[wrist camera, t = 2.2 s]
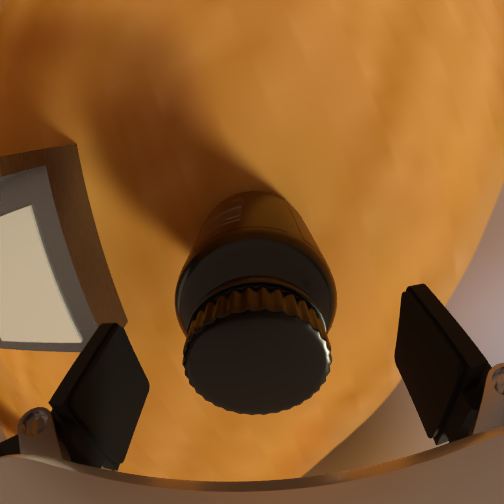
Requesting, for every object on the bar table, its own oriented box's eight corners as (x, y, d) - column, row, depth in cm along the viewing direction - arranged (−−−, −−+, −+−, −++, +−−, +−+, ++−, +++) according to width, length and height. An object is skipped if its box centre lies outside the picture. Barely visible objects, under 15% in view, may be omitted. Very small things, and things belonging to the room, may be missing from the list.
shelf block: (127, 321, 23) (87, 390, 15) (17, 325, 24) (-26, 372, 16) (76, 144, 18) (-3, 158, 10) (-29, 193, 19) (-90, 219, 11)
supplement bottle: (209, 290, 22) (172, 430, 10) (197, 193, 19) (121, 277, 8) (308, 284, 21) (348, 423, 10) (307, 186, 19) (375, 262, 8)
